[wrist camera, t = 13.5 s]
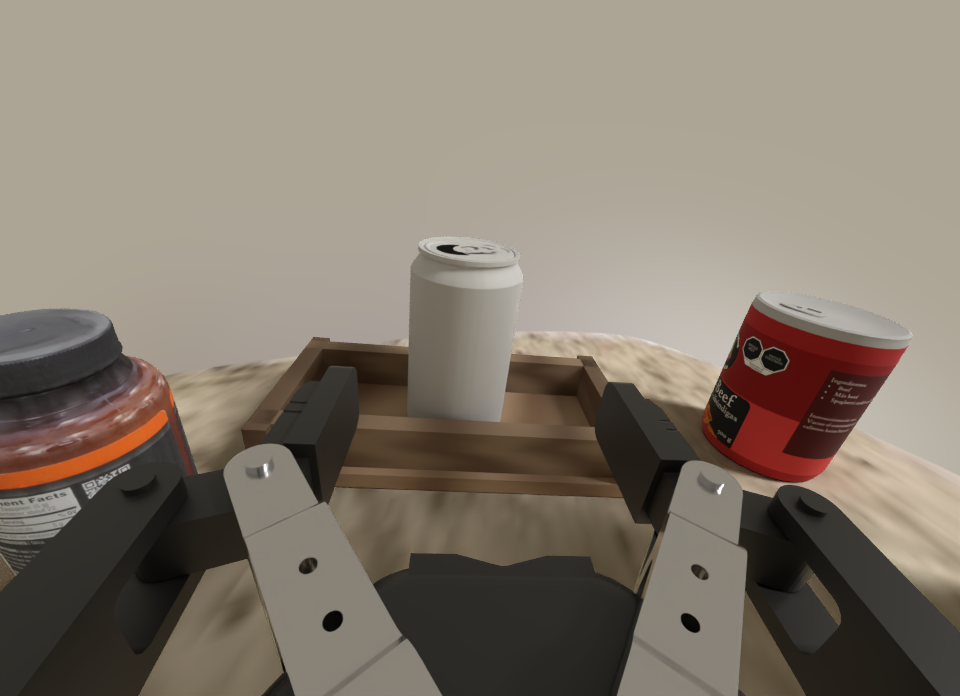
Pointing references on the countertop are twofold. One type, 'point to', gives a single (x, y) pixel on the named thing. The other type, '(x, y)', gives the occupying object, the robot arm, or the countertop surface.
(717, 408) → the canned food
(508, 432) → the wooden tray
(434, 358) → the beverage can
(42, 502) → the supplement bottle
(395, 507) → the countertop surface
